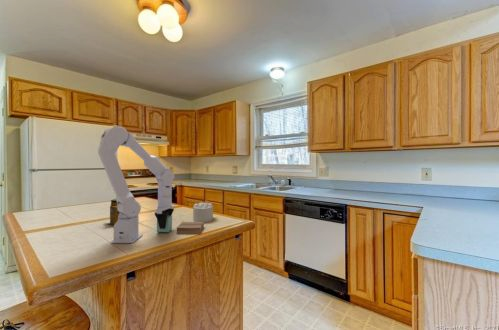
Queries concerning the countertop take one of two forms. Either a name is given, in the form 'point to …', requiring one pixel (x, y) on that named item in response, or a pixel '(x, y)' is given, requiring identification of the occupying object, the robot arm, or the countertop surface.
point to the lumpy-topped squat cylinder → (203, 212)
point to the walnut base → (190, 228)
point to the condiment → (113, 214)
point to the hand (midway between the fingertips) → (164, 226)
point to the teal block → (168, 225)
